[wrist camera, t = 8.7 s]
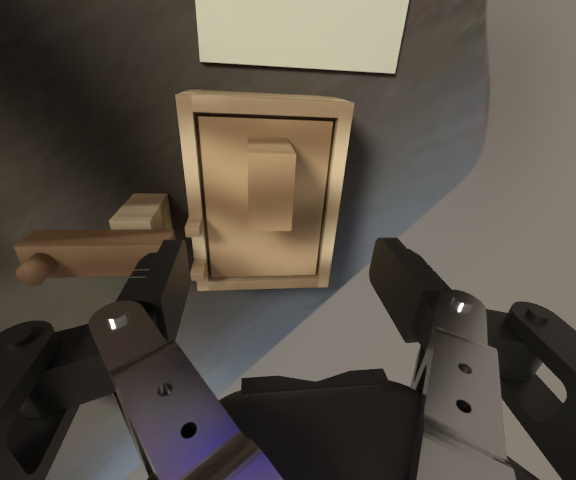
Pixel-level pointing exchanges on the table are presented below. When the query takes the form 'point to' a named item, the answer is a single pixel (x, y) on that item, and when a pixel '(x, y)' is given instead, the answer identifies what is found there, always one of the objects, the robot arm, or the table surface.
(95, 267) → the brown wooden bar
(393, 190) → the table surface
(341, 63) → the mat
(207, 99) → the wooden box
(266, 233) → the lid
